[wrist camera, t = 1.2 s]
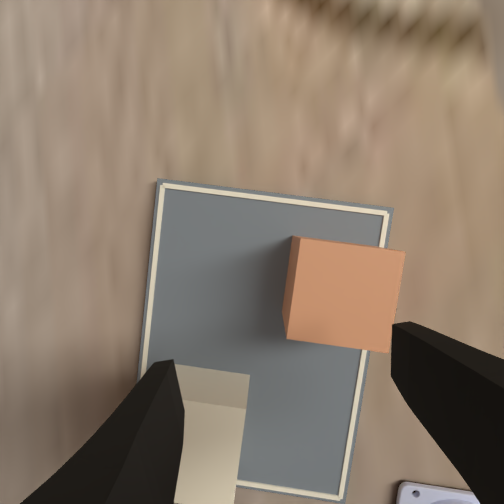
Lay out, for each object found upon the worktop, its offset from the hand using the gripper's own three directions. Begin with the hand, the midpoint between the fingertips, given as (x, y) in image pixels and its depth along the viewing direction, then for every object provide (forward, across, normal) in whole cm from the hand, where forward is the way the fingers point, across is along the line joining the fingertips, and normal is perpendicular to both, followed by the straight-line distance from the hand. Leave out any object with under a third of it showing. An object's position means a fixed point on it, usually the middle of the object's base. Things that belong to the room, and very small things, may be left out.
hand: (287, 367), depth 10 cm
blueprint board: (+10, +1, +6) cm, 12 cm away
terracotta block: (+10, -4, +2) cm, 11 cm away
